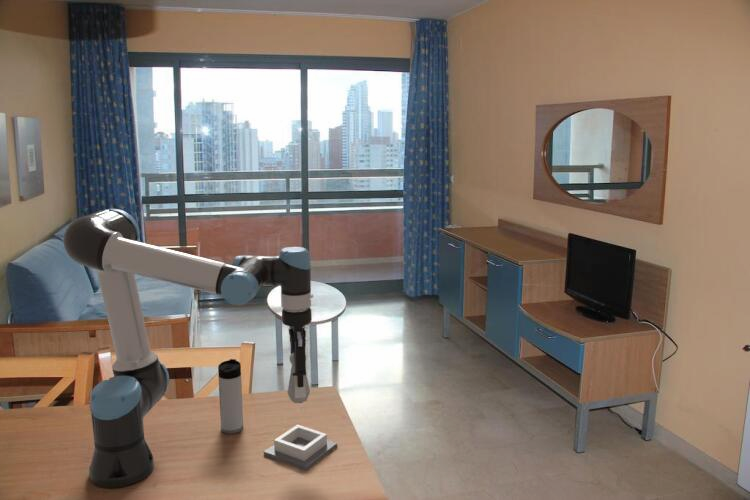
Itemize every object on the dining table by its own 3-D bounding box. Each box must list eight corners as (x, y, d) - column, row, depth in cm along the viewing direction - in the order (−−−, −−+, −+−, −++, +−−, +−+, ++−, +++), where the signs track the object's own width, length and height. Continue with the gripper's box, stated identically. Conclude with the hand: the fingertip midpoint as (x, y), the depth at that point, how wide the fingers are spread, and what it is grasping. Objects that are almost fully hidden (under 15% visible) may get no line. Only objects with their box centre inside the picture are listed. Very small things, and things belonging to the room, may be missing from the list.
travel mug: (246, 423, 187) (243, 359, 182) (239, 434, 180) (236, 368, 176) (225, 422, 187) (222, 358, 183) (217, 433, 181) (214, 367, 176)
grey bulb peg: (308, 405, 166) (307, 358, 163) (286, 404, 166) (285, 357, 163) (311, 395, 172) (310, 349, 169) (290, 394, 172) (288, 349, 169)
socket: (263, 454, 170) (263, 441, 169) (296, 432, 182) (296, 419, 181) (305, 470, 163) (305, 456, 162) (337, 446, 175) (337, 432, 174)
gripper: (316, 318, 155) (318, 406, 160) (306, 296, 173) (308, 376, 178) (285, 320, 154) (288, 409, 159) (278, 298, 171) (281, 378, 176)
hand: (298, 391), depth 168 cm, fingers closed on grey bulb peg, 6 cm apart
